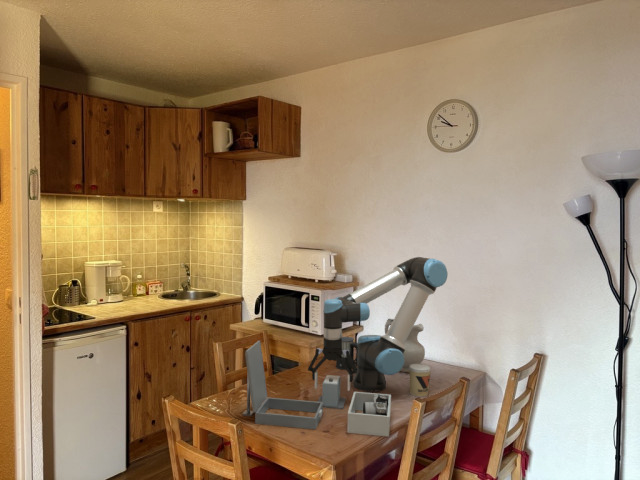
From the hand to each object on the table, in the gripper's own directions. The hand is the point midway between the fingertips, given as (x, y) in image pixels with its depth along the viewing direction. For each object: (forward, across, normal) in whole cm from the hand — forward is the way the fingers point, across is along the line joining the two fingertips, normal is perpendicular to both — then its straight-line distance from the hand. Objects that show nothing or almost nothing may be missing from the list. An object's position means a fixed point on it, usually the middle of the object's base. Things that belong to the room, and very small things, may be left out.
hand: (332, 388), depth 195 cm
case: (+5, +13, +18) cm, 23 cm away
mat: (+6, 0, 0) cm, 6 cm away
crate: (+6, -17, +15) cm, 23 cm away
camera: (+6, -18, +14) cm, 24 cm away
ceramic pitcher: (+7, -28, -54) cm, 61 cm away
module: (+5, 0, 0) cm, 5 cm away
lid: (-10, +26, +18) cm, 33 cm away
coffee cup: (+7, -36, -19) cm, 41 cm away
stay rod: (+5, +30, +18) cm, 35 cm away
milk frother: (+7, -2, -51) cm, 52 cm away
